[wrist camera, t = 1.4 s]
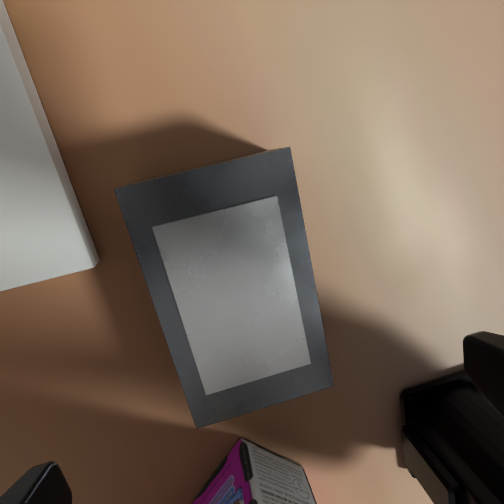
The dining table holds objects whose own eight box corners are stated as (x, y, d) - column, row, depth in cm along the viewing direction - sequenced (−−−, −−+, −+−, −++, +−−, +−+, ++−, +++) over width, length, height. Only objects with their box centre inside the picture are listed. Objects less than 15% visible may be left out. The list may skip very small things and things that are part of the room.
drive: (266, 150, 15) (290, 146, 11) (304, 338, 18) (334, 387, 14) (135, 181, 15) (113, 189, 11) (196, 370, 18) (196, 430, 14)
